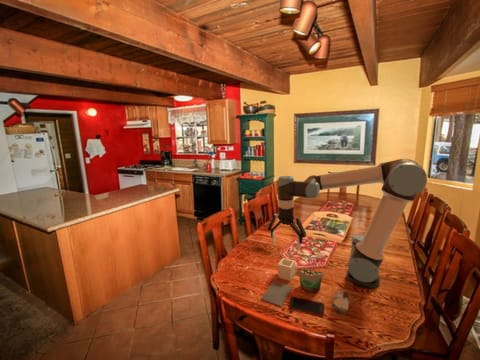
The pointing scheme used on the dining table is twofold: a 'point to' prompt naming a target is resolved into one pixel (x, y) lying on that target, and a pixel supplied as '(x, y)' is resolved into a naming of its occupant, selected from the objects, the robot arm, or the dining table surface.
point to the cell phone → (307, 306)
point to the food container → (310, 280)
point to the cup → (286, 269)
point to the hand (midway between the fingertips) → (286, 245)
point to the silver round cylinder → (341, 302)
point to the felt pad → (277, 293)
